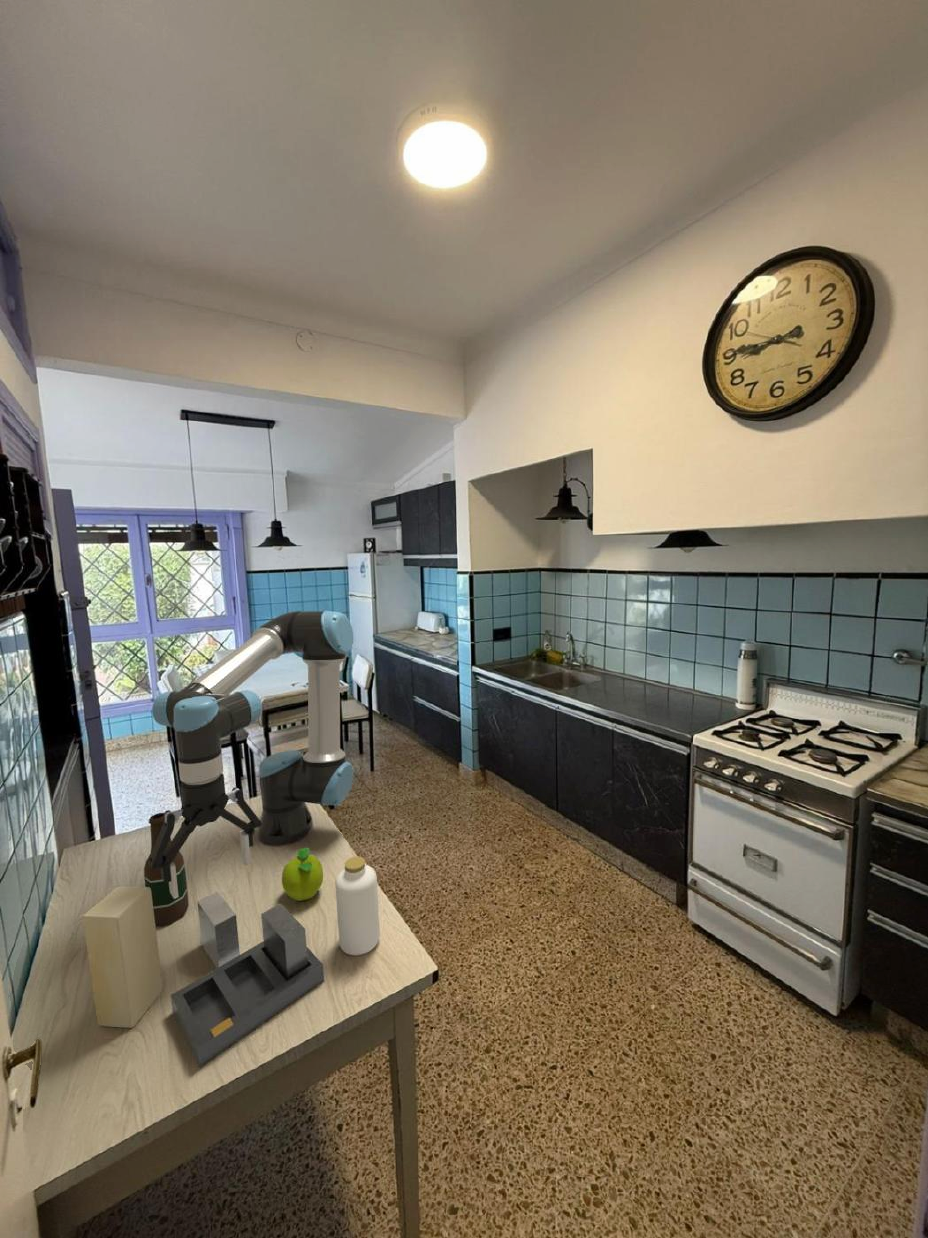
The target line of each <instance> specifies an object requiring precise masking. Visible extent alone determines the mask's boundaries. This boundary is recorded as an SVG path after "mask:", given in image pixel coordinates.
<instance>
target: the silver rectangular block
mask: <svg viewBox="0 0 928 1238" xmlns="http://www.w3.org/2000/svg"><path fill="white" fill-rule="evenodd" d="M196 904H197V911H198V919H199V920H198V921H199V928H200V929H199V931H200V939H201V946H203V949H204V950H205V952H206V954H207V955H208V956H209V958H210V959H211V961H212V963H213V965H214V966H215V967H216V968H218V967H220V966H222V965H223V964H225V963H227V962H229V961H230V960H232V959H234V958H235V957H237V956H239V955H241V953H240V942H239V931H238V923H237V921H238V920H237V915H236V913H235V911H234V910H233V909H232V908H231V907H230V905H229V904H228V903H227V901H226V900H225V898H223V897H222V895H221V894H220V892H218V891H215V892H213V893H211V894H209V895H207V896H205V897H203V898H201V899H199V900H197V902H196Z"/></svg>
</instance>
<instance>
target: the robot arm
mask: <svg viewBox="0 0 928 1238" xmlns="http://www.w3.org/2000/svg"><path fill="white" fill-rule="evenodd" d="M353 630H354V629H353V626H352V624H351V622H350V620H349V618H348V617H347V616H346V615H345V614H344V613H343V612H339V611H332V610H331V611H330V610H324V611H323V610H322V611H320V610H319V611H313V610H312V611H311V610H310V611H307V610H306V611H301V610H300V611H299V610H295V611H290V612H286V613H283V614H281V615H278V616H276V617H274V618H271V620H269V621H267V622H265V623H264V624H262V625H260V626H259V627H258V628H257V629H255V630H254V631H253V632H252V634H251V638H249V639H248V640H247V641H245V642H244V643H243V644H241V645H240V646H239V647H237V648H236V649H235V650H232V652H231V653H229V654H228V655H227V656H225V657H224V658H223V659H221V660H220V661H219V662H217V663H216V664H214V665H213V666H212V667H211V668H209V669H208V670H206V671H205V672H203V674H201V675H200V676H198V677H197V678H195V679H194V680H193V681H191V683H189V684H188V685H186V686H184V687H183V688H182V689H180V690H179V691H176V690H171V691H165V692H163V693H160V694H159V695H157V697H156V699H154V701H153V704H152V709H151V714H152V717H153V720H154V721H155V722H156V723H157V724H158V725H161V726H164V727H171V728H173V730H174V736H175V737H174V738H175V744H176V753H177V760H178V772H179V773H178V774H179V781H181V782H180V793H181V794H180V796H181V801H182V805H181V808H180V809H178V810H177V809H176V810H172V811H171V810H168V809H167V810H165V811H164V812H163V813H164V823H163V826H162V828H161V831H160V833H159V836H158V838H157V841H156V843H155V846H154V848H153V850H152V853H151V852H150V853H151V855H150V854H149V855H150V858H149V860H148V863H149V864H150V866H151V868H152V869H157V868H161V873H162V879H163V880H164V882H165V883H168V882H169V888H170V893H171V895H172V896H173V898H174V899H176V898H178V897H179V896H178V887H177V877H176V868H175V864H174V863H173V860H174V858H175V857H176V855H177V854H178V852H179V851H181V849H182V847H183V845H184V844H185V843H186V842H187V840H188V838H189V836H190V835H191V834H192V833H193V832H194V831H195V830H196V828H197V827H199V828H200V827H202V826H206V825H207V824H208V823H214V822H217V820H218V819H219V818H220V817H221V818H223V819H224V820H227V821H228V822H229V823H231V824H232V825H234V826H236V827H238V828H239V829H241V830H240V831H239V841H240V842H239V843H240V852H241V861H242V863H244V865H246V866H247V867H248V866H251V865H252V863H251V852H250V849H251V848H252V847H254V834H255V832H256V831H255V829H256V828H257V837H258V840H259V842H261V843H262V844H264V845H268V846H283V845H288V844H292V843H295V842H297V841H300V840H302V839H304V838H306V837H307V835H308V834H310V832H311V831H312V830H313V826H314V825H313V823H314V822H313V817H312V814H311V812H310V810H309V807H308V806H307V803H309V804H316V805H322V806H328V805H329V806H337V805H340V804H341V803H343V802H344V801H345V799H346V798H347V797H348V795H349V794H350V791H351V789H352V786H353V782H354V776H355V775H354V774H355V773H354V772H355V770H354V766H353V765H352V763H350V762H349V761H346V752H345V751H344V750H343V749H342V748H341V698H340V697H341V696H340V695H341V694H340V693H341V687H340V685H341V684H340V683H341V682H340V681H341V678H340V677H341V676H340V675H341V671H340V670H341V668H340V667H341V664H342V663H343V662H344V661H345V660H346V654H347V653H350V652H351V650H352V648H353V644H354V631H353ZM289 653H301V654H302V658H301V659H302V661H303V662H304V663H305V664H306V665H307V694H308V695H307V696H308V697H307V701H308V702H307V703H308V708H307V709H308V710H307V711H308V715H307V716H308V721H307V723H308V727H307V729H308V731H307V732H308V733H307V735H308V737H307V738H308V739H307V740H308V741H307V742H308V743H307V744H308V748H307V749H308V750H307V752H306V753H305V754H302V753H301V752H300V750H297V749H290V750H289V749H288V750H284V751H280V752H279V751H278V752H276V753H273V754H271V755H269V756H267V757H265V758H264V759H262V760H261V762H260V764H259V767H258V770H259V771H258V772H259V775H258V778H259V787H260V796H261V805H262V812H261V816H260V818H259V817H258V816H257V815H256V813H255V812H254V811H253V809H252V808H251V807H250V805H249V804H248V803H247V801H245V799H244V798H245V797H244V793H243V791H242V790H241V789H239V788H238V787H236V786H235V787H233V788H232V790H231V791H229V792H227V793H226V784H225V774H224V762H223V753H222V751H223V749H222V739H224V738H226V737H227V736H229V735H231V734H233V733H236V732H237V731H240V730H242V729H244V728H247V727H249V726H250V725H251V724H253V723H254V722H256V721H258V720H259V719H260V717H261V716H262V713H263V705H262V700H261V698H260V697H259V695H258V694H256V693H255V692H253V691H252V690H248V689H245V690H239V691H235V690H236V689H237V688H238V687H240V686H241V685H242V684H243V683H244V682H246V681H247V680H248V679H249V678H250V677H252V675H254V674H255V673H256V672H258V670H260V669H261V668H262V667H263V666H265V665H266V664H267V663H268V662H269V661H270V660H277V659H278V658H280V657H281V656H282V655H284V654H289ZM234 691H235V692H234ZM232 692H234V693H232ZM229 800H230V801H232V802H233V803H236V804H237V806H238V807H239V808H240V810H242V812H243V813H244V815H245V816H246V818H247V819H249V822H248V823H247V822H245V820H242V819H241V818H239V817H238V816H236V815H235V814H233V813H232V812H230V811H229V810H227V809H226V806H227V804H228V802H229ZM181 817H182V818H184V819H183V821H182V822H181V824H180V828H179V829H178V830H177V832H176V833H175V834H174V837H173V838H172V834H173V832H174V829H175V826H176V825H175V824H177V823H178V821H179V820H180V818H181ZM170 837H171V838H172V839H171V843H170V844H169V846H168V847H167V845H168V842H169V840H170ZM166 847H167V849H166Z"/></svg>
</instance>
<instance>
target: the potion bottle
mask: <svg viewBox="0 0 928 1238" xmlns="http://www.w3.org/2000/svg"><path fill="white" fill-rule="evenodd" d="M343 868H344V869H342V870H341V871H340V872H339V873H338V875H336V878H335V882H334V884H335V885H334V886H335V899H336V900H335V901H336V912H337V925H338V926H337V927H338V942H339V948H340V949H341V951H342V952H344V953H345V954H347V955H350V956H362V955H365V954H367V953H369V952H370V951H372V950H373V949H374V948H375V947H376V946H377V944H378V942H379V941H380V937H381V931H380V930H381V929H380V914H379V912H380V910H379V894H378V877H377V874H376V870H375V869H374V868H373V867H371V866H369V865H368V864H367V862H366V859H365V858H364V857H362V856H352V857H349V858H348V859H346V861H345V862H344V867H343Z"/></svg>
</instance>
